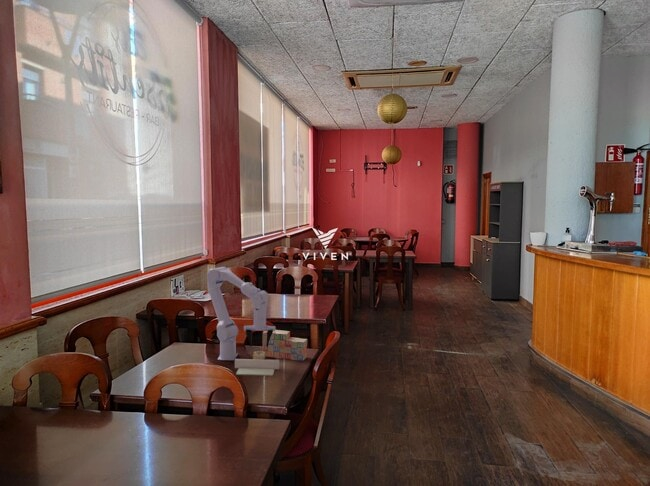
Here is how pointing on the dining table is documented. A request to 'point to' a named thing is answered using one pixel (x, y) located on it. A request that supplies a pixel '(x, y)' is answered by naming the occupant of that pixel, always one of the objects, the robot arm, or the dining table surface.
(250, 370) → the mat
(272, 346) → the stack of blocks
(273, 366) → the screen
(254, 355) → the letter cube
